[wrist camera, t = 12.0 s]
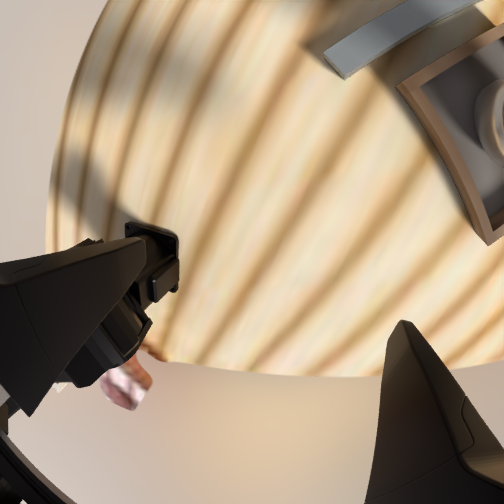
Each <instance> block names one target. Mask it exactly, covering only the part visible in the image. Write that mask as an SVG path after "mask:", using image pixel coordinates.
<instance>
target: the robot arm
mask: <svg viewBox="0 0 504 504" xmlns="http://www.w3.org/2000/svg"><path fill="white" fill-rule="evenodd" d="M172 239H173V240H174V242H173V241H172ZM178 249H179V240H178V238H177V237H176V236H175V235H172V234H169V233H166V232H162V231H159V230H156V229H153V228H149V227H146V226H143V225H140V224H137V223H133V222H127V223H125V238H124V239H120V240H115V241H110V242H105V243H104V241H103V239H100V240H98V241H95V240H94V241H92V240H91V239H89V238H88V239H86V240H84V241H82V242H81V243H79V244H77V245H76V246H74V247H72V248H70V249H67V250H65V251H60V252H55V253H51V254H46V255H41V256H37V257H32V258H27V259H21V260H15V261H9V262H3V263H0V504H20V502H21V501H22V500H24V501H25V502H26V503H27V504H77V503H75V502H74V501H73V500H71V499H70V498H69V497H68V496H66V495H65V494H64V493H63V492H62V491H61V490H59V489H58V488H57V487H56V486H55V485H54V484H53V483H52V482H50V481H49V480H48V479H47V478H46V477H45V476H44V475H43V474H42V473H41V472H40V471H39V470H38V469H37V468H36V467H35V466H34V465H33V464H32V463H31V462H30V461H29V460H28V459H27V458H26V457H25V456H24V455H23V454H22V453H21V452H20V450H19V449H18V448H17V447H16V446H15V445H14V443H13V442H12V441H11V440H10V439H9V437H8V436H7V435H8V419H9V418H10V417H11V416H12V415H13V414H14V413H16V412H17V411H18V410H19V409H20V408H21V409H22V410H23V411H24V412H25V413H26V415H27V416H28V417H30V416H31V415H32V414H33V413H34V411H35V410H36V408H37V407H38V405H39V404H40V402H41V401H42V399H43V398H44V397H45V395H46V394H47V392H48V391H49V389H50V388H51V387H52V385H53V384H54V383H65V382H72V383H73V384H74V385H75V386H76V387H77V388H82V387H87V386H90V385H92V384H93V383H94V382H95V381H96V380H97V379H98V378H99V377H100V376H101V375H103V374H104V373H105V372H106V371H107V370H109V369H112V368H116V367H118V366H120V365H122V364H124V363H125V362H126V361H128V360H129V359H130V358H131V357H132V356H133V355H134V354H135V353H136V351H137V350H138V348H139V347H140V345H141V343H142V341H143V339H144V338H145V336H146V334H147V332H148V330H149V329H150V327H151V325H152V323H153V322H152V321H151V319H150V318H148V316H147V315H146V313H145V312H144V310H145V309H146V308H147V307H148V306H149V305H150V304H151V303H152V302H154V303H157V302H158V301H159V300H160V299H161V298H162V297H163V296H164V295H165V294H166V293H167V292H168V291H170V292H172V293H175V292H176V291H177V290H178V281H179V258H178ZM364 504H504V449H503V447H502V446H501V444H500V443H499V441H498V440H497V438H496V437H495V436H494V434H493V433H492V432H491V430H490V429H489V428H488V426H487V425H486V423H485V422H484V420H483V419H482V418H481V416H480V415H479V414H478V412H477V411H476V409H475V408H474V406H473V405H472V403H471V402H470V400H469V399H468V397H467V396H465V393H464V391H463V390H462V388H461V387H460V385H459V384H458V383H457V381H456V380H455V379H454V377H453V376H452V374H451V373H450V371H449V370H448V369H447V367H446V366H445V364H444V363H443V362H442V360H441V359H440V358H439V356H438V355H437V354H436V352H435V351H434V350H433V348H432V347H431V346H430V345H429V343H428V342H427V341H426V339H425V338H424V337H423V336H422V334H421V333H420V332H419V330H418V329H417V328H416V327H415V325H414V324H413V323H412V322H410V321H406V320H400V321H399V322H398V324H397V325H396V327H395V329H394V330H393V332H392V334H391V335H390V337H389V339H388V342H387V347H386V355H385V362H384V369H383V375H382V382H381V394H380V407H379V418H378V428H377V436H376V444H375V450H374V457H373V463H372V469H371V475H370V480H369V484H368V489H367V494H366V499H365V503H364Z"/></svg>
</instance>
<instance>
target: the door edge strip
mask: <svg viewBox="0 0 504 504" xmlns="http://www.w3.org/2000/svg"><path fill="white" fill-rule="evenodd" d="M480 1H482V0H408V1H406V2H404V3H402V4H400V5H398V6H397V7H395V8H393V9H391V10H389V11H387V12H386V13H384V14H382V15H380V16H379V17H377V18H375V19H374V20H372V21H370V22H369V23H367V24H365V25H364V26H362V27H360V28H359V29H357V30H356V31H354V32H353V33H351V34H350V35H348V36H346V37H345V38H343V39H342V40H340V41H339V42H338V43H336V44H335V45H333V46H332V47H330V48H329V49H327V50H326V51H325V52H323V54H324V57H325V60H326V61H327V62H328V63H329V64H330V65H331V66H332V67H333V68H334V69H335V70H336V71H337V72H338V73H339V75H340V76H341V77H342V78H343V79H344V80H346V79H347V78H349V77H350V76H352V75H353V74H354V73H356V72H357V71H359V70H360V69H362V68H363V67H365V66H366V65H368V64H369V63H371V62H372V61H374V60H375V59H377V58H378V57H380V56H381V55H383V54H385V53H386V52H388V51H389V50H391V49H392V48H394V47H396V46H397V45H399V44H401V43H402V42H404V41H406V40H407V39H409V38H411V37H412V36H414V35H416V34H418V33H419V32H421V31H423V30H425V29H426V28H428V27H430V26H432V25H434V24H435V23H437V22H439V21H441V20H443V19H445V18H447V17H449V16H451V15H453V14H455V13H457V12H459V11H461V10H463V9H465V8H467V7H469V6H471V5H473V4H476V3H478V2H480Z"/></svg>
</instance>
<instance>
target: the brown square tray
mask: <svg viewBox="0 0 504 504" xmlns="http://www.w3.org/2000/svg"><path fill="white" fill-rule="evenodd" d="M500 79H504V23H502V24H500V25H498V26H496V27H494V28H492V29H490V30H488V31H487V32H485V33H483V34H481V35H479V36H477V37H476V38H474V39H472V40H470V41H468V42H467V43H465V44H463V45H461V46H460V47H458V48H456V49H454V50H453V51H451V52H449V53H448V54H446V55H444V56H442V57H441V58H439V59H438V60H436V61H434V62H433V63H431V64H429V65H428V66H426V67H424V68H423V69H421V70H420V71H418V72H417V73H415V74H413V75H412V76H410V77H409V78H407V79H406V80H404V81H402V82H401V83H400V84H398V85H397V86H396V87H395V88H396V89H397V90H398V92H399V93H400V94H401V96H402V97H403V98H404V100H405V101H406V102H407V104H408V105H409V107H410V108H411V109H412V111H413V112H414V114H415V115H416V117H417V118H418V120H419V121H420V123H421V124H422V126H423V127H424V129H425V131H426V132H427V134H428V135H429V137H430V139H431V140H432V142H433V144H434V145H435V147H436V149H437V151H438V152H439V154H440V156H441V158H442V160H443V161H444V163H445V165H446V167H447V169H448V171H449V173H450V175H451V177H452V179H453V181H454V183H455V185H456V187H457V189H458V191H459V193H460V196H461V198H462V200H463V202H464V205H465V207H466V209H467V212H468V214H469V217H470V219H471V222H472V224H473V227H474V229H475V232H476V234H477V235H478V236H479V237H480V238H481V239H482V240H483V241H484V242H485V243H486V245H487V246H489V245H491V244H492V243H494V242H495V241H496V240H498V239H499V238H501V237H502V236H503V235H504V169H503V168H502V167H501V166H499V165H498V164H497V163H496V162H494V161H493V160H492V159H491V158H490V157H489V155H488V154H487V153H486V151H485V150H484V148H483V146H482V144H481V142H480V140H479V137H478V134H477V131H476V126H475V120H474V108H475V103H476V99H477V97H478V95H479V93H480V92H481V90H482V89H483V88H485V87H486V86H488V85H489V84H491V83H492V82H494V81H496V80H500Z"/></svg>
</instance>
